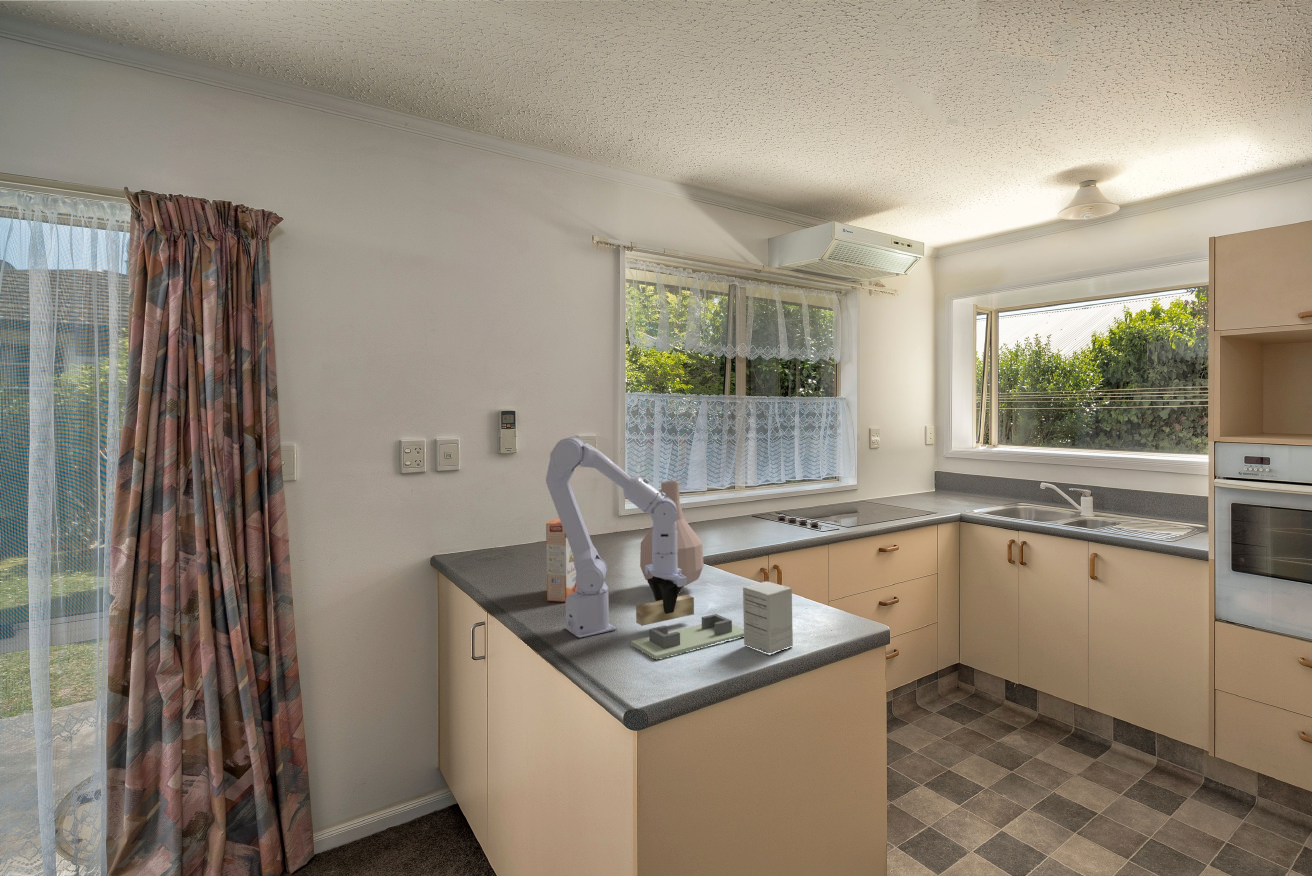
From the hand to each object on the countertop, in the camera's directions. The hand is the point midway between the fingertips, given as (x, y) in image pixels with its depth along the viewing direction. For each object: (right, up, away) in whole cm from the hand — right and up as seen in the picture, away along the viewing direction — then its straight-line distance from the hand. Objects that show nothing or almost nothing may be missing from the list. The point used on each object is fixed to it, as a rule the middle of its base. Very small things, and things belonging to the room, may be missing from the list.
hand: (665, 610), depth 144 cm
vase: (+2, -3, +31) cm, 31 cm away
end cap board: (+5, -4, -8) cm, 11 cm away
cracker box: (-27, -4, +28) cm, 39 cm away
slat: (0, -2, 0) cm, 2 cm away
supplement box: (+21, -4, -13) cm, 25 cm away
